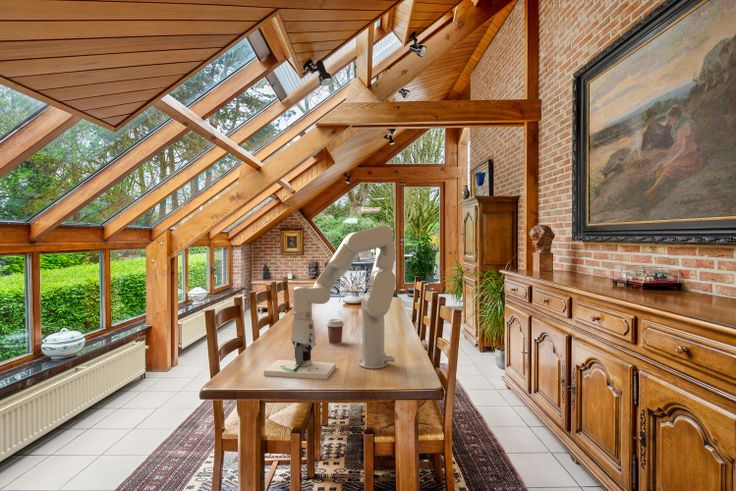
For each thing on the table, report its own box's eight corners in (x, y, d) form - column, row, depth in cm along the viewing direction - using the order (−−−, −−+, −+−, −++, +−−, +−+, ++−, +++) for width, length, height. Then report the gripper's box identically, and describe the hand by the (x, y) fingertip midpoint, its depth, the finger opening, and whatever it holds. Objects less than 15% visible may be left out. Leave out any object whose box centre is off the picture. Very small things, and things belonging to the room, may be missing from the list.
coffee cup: (325, 345, 205) (325, 322, 204) (327, 341, 214) (326, 318, 213) (343, 345, 205) (343, 322, 204) (344, 341, 214) (344, 318, 214)
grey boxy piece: (298, 360, 174) (298, 341, 174) (314, 361, 173) (314, 342, 172) (285, 370, 161) (285, 350, 161) (302, 372, 159) (302, 351, 159)
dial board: (335, 367, 171) (335, 362, 171) (326, 379, 157) (326, 373, 157) (277, 364, 176) (277, 359, 176) (263, 375, 162) (263, 370, 162)
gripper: (323, 316, 166) (323, 360, 167) (296, 311, 177) (296, 353, 178) (309, 319, 160) (310, 365, 161) (282, 314, 171) (282, 357, 172)
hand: (302, 358), depth 169 cm, fingers closed on grey boxy piece, 4 cm apart
